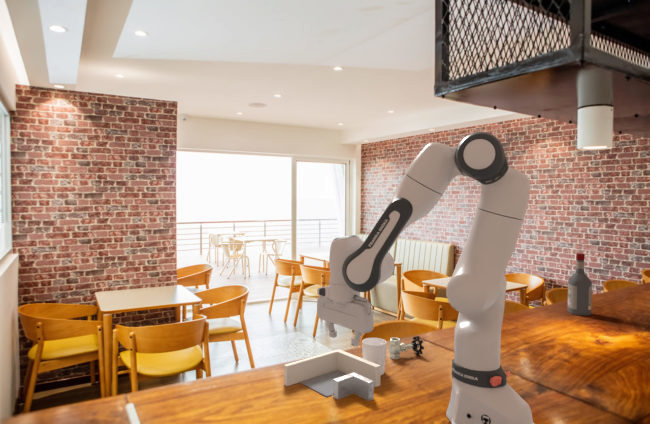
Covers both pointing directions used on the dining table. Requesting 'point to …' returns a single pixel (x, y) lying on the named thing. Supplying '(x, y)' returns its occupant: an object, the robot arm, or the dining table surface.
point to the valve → (404, 347)
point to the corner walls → (331, 367)
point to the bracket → (353, 386)
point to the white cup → (375, 351)
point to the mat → (323, 383)
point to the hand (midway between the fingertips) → (343, 341)
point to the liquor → (579, 290)
